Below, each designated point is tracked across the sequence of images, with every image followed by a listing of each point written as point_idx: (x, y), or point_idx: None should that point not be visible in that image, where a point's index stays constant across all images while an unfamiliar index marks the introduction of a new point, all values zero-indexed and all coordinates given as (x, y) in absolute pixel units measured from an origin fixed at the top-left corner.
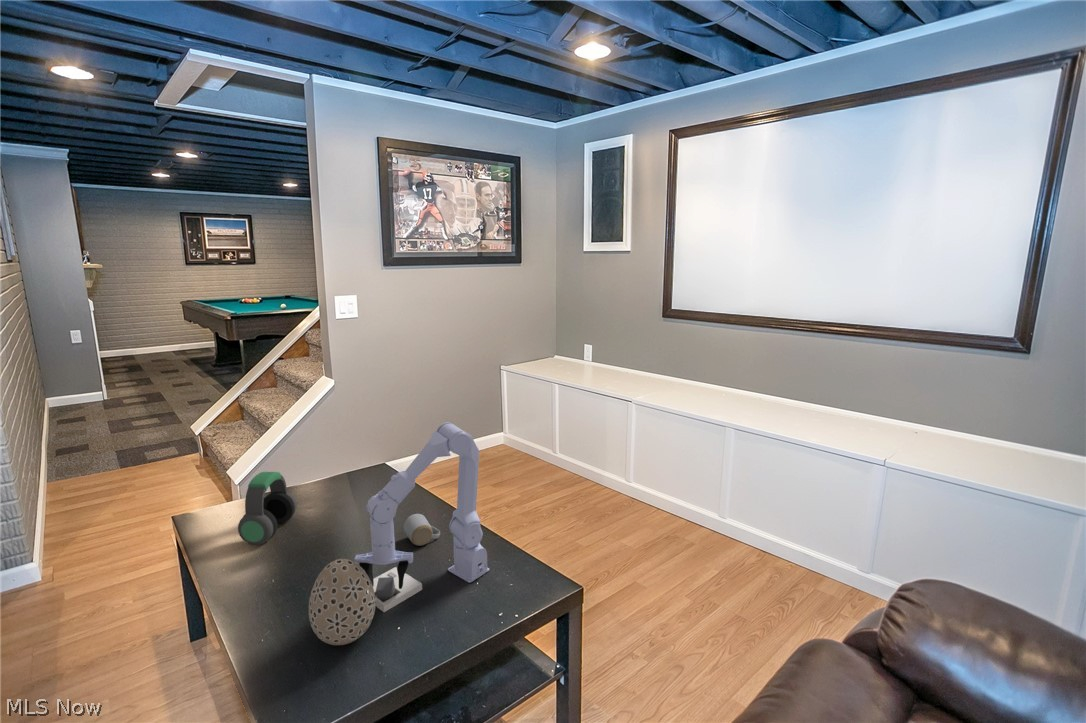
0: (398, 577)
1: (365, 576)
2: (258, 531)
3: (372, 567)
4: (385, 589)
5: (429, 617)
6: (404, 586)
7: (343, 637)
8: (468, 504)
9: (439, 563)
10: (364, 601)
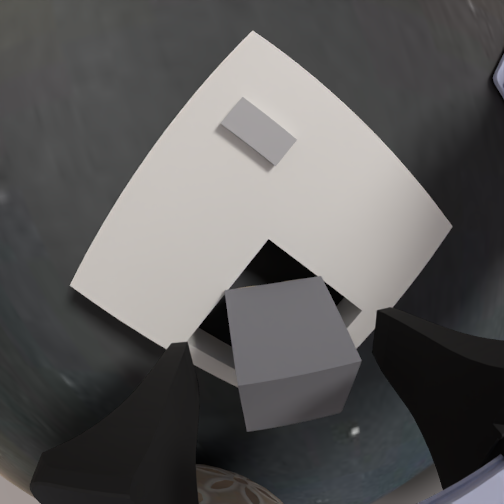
0: (417, 424)
1: None
2: None
3: (159, 423)
4: (308, 418)
5: None
6: (373, 257)
7: None
8: None
9: (447, 12)
10: (225, 495)
